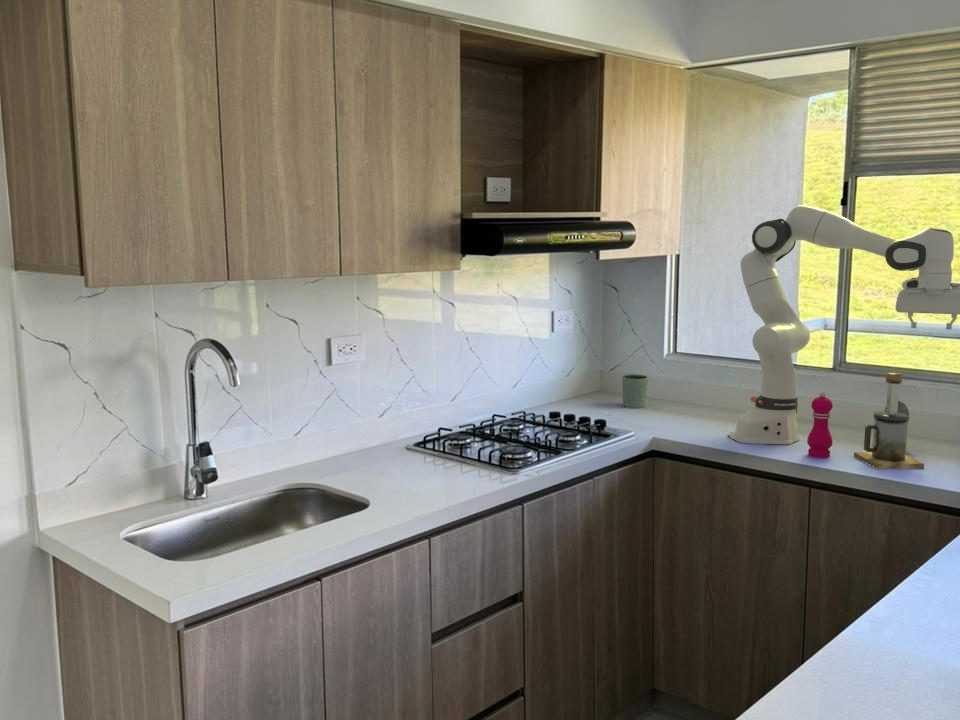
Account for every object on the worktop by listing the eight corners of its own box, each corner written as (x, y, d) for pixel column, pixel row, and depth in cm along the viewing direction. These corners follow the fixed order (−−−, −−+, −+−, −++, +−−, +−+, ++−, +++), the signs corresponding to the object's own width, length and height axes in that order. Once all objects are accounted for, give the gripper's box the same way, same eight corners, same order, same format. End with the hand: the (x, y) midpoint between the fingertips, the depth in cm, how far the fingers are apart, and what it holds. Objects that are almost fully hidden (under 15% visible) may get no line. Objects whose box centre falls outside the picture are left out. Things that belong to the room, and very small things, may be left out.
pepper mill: (811, 451, 270) (814, 388, 267) (834, 455, 265) (838, 391, 262) (803, 456, 264) (806, 392, 261) (827, 460, 260) (831, 395, 257)
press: (872, 462, 252) (877, 386, 248) (856, 453, 261) (861, 380, 258) (912, 461, 252) (918, 386, 249) (895, 453, 262) (900, 380, 258)
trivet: (877, 469, 250) (877, 464, 249) (853, 456, 264) (854, 452, 263) (924, 468, 250) (924, 463, 250) (898, 456, 264) (898, 451, 264)
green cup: (632, 402, 347) (633, 373, 345) (652, 406, 339) (653, 376, 337) (616, 406, 340) (616, 376, 339) (635, 410, 333) (636, 379, 331)
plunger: (888, 415, 253) (891, 375, 251) (880, 412, 257) (883, 372, 255) (902, 415, 253) (905, 374, 251) (894, 412, 257) (897, 372, 255)
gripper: (973, 282, 256) (970, 329, 258) (897, 281, 265) (894, 326, 267) (975, 284, 250) (971, 331, 252) (897, 282, 260) (893, 328, 262)
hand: (931, 328), depth 260 cm, fingers open, 8 cm apart
